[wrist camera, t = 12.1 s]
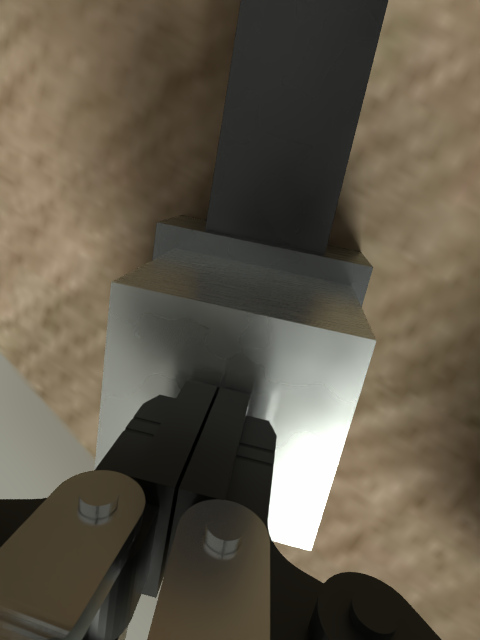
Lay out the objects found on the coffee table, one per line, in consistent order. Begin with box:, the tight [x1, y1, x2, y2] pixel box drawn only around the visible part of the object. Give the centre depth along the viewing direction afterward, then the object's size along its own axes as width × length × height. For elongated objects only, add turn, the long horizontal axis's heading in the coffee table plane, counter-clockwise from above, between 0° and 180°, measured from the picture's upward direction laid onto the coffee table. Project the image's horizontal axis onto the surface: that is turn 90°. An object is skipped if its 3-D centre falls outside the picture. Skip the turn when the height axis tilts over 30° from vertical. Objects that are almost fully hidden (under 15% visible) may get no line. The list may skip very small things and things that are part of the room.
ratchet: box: [153, 0, 388, 307], centre depth 13 cm, size 18×7×6 cm, turn 170°
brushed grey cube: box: [95, 248, 376, 551], centre depth 13 cm, size 6×6×5 cm
